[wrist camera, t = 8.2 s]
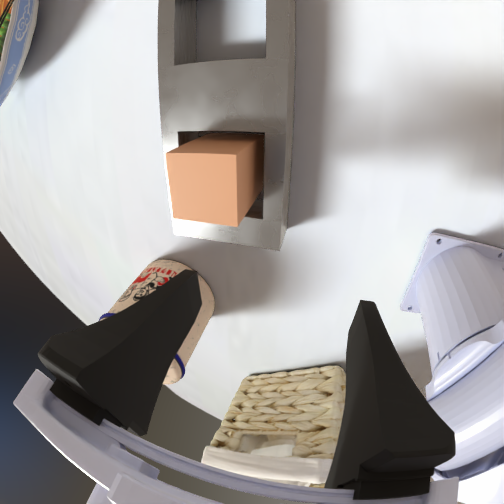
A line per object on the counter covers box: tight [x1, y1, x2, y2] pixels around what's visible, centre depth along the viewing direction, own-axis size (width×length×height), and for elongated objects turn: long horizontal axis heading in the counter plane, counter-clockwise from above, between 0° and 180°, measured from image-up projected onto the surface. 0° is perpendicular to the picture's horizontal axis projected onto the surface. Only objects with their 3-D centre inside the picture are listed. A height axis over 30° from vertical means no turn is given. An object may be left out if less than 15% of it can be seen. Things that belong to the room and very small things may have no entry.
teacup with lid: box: [99, 260, 215, 384], centre depth 25 cm, size 12×9×12 cm
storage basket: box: [201, 366, 346, 488], centre depth 30 cm, size 24×16×15 cm
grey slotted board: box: [158, 0, 296, 251], centre depth 15 cm, size 20×8×3 cm, turn 0°
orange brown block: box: [165, 133, 264, 227], centre depth 16 cm, size 4×4×6 cm
